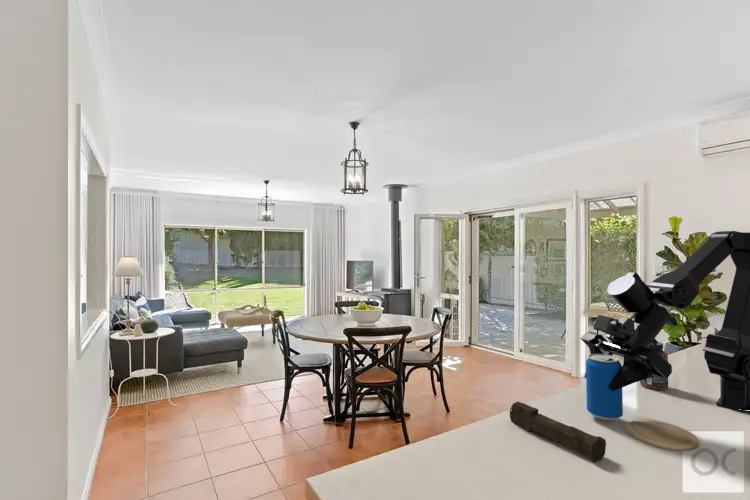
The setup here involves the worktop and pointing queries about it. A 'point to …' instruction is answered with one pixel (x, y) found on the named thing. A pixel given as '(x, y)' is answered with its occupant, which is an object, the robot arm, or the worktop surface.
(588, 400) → the beverage can
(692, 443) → the coaster
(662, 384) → the supplement bottle
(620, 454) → the worktop surface
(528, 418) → the hand tool
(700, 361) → the worktop surface
